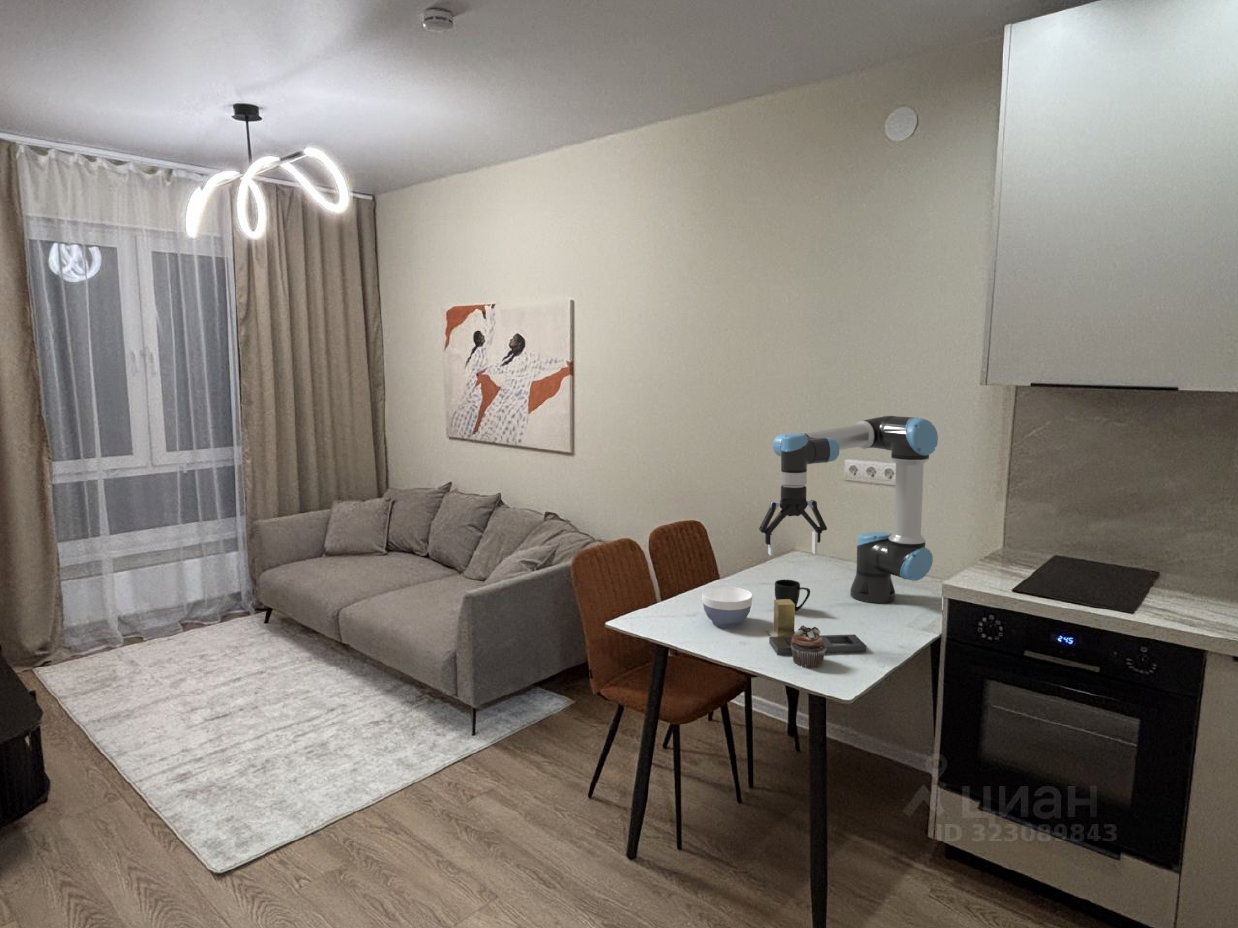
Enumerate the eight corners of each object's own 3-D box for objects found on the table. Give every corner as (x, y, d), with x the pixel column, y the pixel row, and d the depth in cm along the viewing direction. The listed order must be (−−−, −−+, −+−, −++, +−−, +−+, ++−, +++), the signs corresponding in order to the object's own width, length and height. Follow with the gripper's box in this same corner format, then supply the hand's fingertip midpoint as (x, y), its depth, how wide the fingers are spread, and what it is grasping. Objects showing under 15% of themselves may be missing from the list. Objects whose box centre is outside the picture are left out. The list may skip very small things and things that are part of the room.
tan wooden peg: (789, 630, 233) (790, 599, 232) (794, 636, 228) (795, 604, 227) (773, 630, 233) (774, 599, 231) (777, 636, 228) (778, 604, 226)
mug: (803, 618, 246) (804, 590, 244) (769, 610, 253) (770, 583, 252) (813, 611, 252) (814, 584, 251) (781, 604, 259) (781, 577, 258)
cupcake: (787, 666, 207) (788, 631, 206) (793, 653, 216) (793, 620, 215) (823, 671, 204) (824, 636, 203) (827, 658, 213) (828, 624, 212)
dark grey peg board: (854, 640, 226) (854, 634, 226) (866, 652, 217) (866, 645, 217) (769, 643, 224) (769, 636, 224) (777, 654, 215) (777, 648, 215)
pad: (792, 630, 235) (792, 628, 235) (800, 639, 227) (800, 637, 227) (767, 630, 234) (767, 629, 234) (774, 640, 226) (774, 638, 226)
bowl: (755, 617, 247) (756, 589, 246) (747, 633, 232) (747, 603, 231) (707, 612, 252) (708, 584, 251) (696, 628, 237) (697, 598, 236)
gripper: (830, 481, 230) (828, 549, 234) (749, 484, 229) (749, 552, 232) (838, 486, 223) (837, 555, 226) (755, 488, 221) (755, 558, 225)
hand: (792, 554), depth 229 cm, fingers open, 13 cm apart
